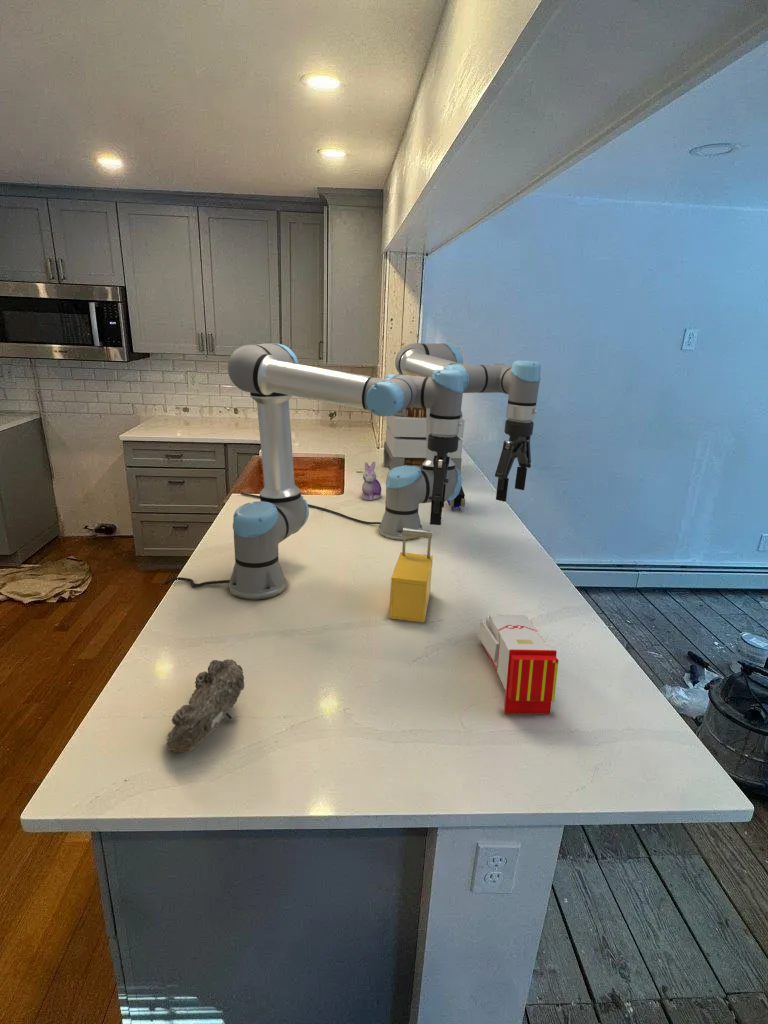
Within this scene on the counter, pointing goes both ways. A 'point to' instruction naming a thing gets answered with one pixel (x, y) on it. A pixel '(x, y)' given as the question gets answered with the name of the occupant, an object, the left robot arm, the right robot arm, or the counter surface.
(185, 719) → the fossil
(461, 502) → the figurine character
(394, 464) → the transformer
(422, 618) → the yellow open-ended box
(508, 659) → the toy
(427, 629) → the counter surface
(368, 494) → the figurine
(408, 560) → the yellow block with rod
